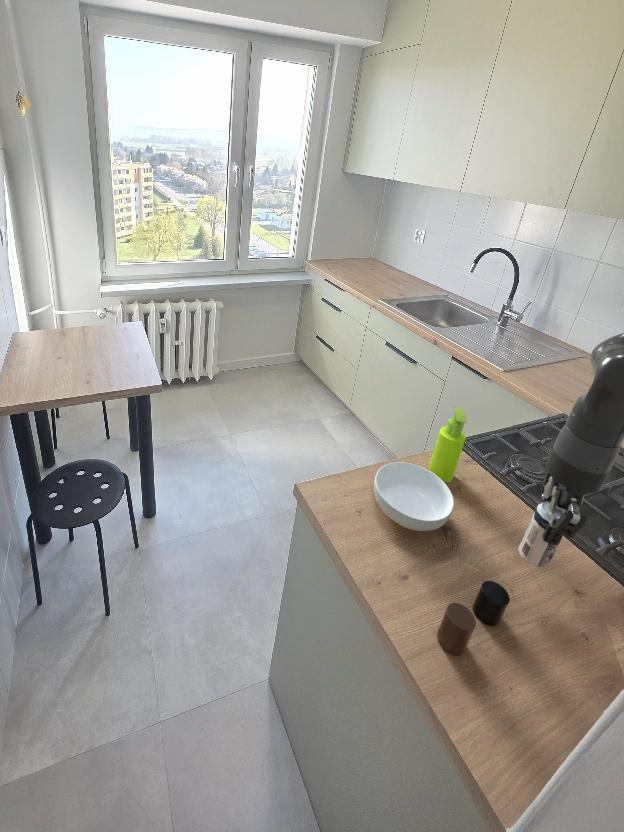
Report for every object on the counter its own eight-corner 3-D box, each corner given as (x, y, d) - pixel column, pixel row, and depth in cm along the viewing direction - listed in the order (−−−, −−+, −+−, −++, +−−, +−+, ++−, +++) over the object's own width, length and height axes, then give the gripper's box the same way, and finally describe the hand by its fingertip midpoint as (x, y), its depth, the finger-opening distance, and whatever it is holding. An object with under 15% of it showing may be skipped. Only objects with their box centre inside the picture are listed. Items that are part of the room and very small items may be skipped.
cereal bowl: (356, 491, 101) (360, 469, 99) (411, 477, 107) (417, 455, 104) (402, 552, 87) (409, 528, 84) (463, 532, 92) (472, 508, 89)
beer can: (547, 574, 74) (571, 527, 69) (516, 559, 77) (537, 512, 72) (548, 555, 78) (572, 508, 73) (519, 541, 80) (539, 495, 75)
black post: (498, 607, 77) (508, 586, 75) (501, 631, 74) (511, 609, 71) (472, 597, 79) (480, 576, 76) (473, 619, 75) (482, 598, 73)
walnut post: (464, 634, 73) (475, 609, 70) (465, 661, 69) (476, 635, 66) (437, 623, 74) (446, 598, 72) (436, 648, 71) (446, 622, 68)
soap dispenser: (429, 481, 105) (448, 417, 97) (427, 463, 112) (445, 401, 103) (454, 488, 104) (476, 423, 96) (451, 469, 110) (471, 406, 102)
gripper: (627, 494, 60) (582, 573, 67) (596, 436, 72) (561, 508, 79) (565, 476, 63) (528, 554, 70) (545, 423, 75) (516, 494, 82)
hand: (546, 529), depth 74 cm, fingers closed on beer can, 4 cm apart
